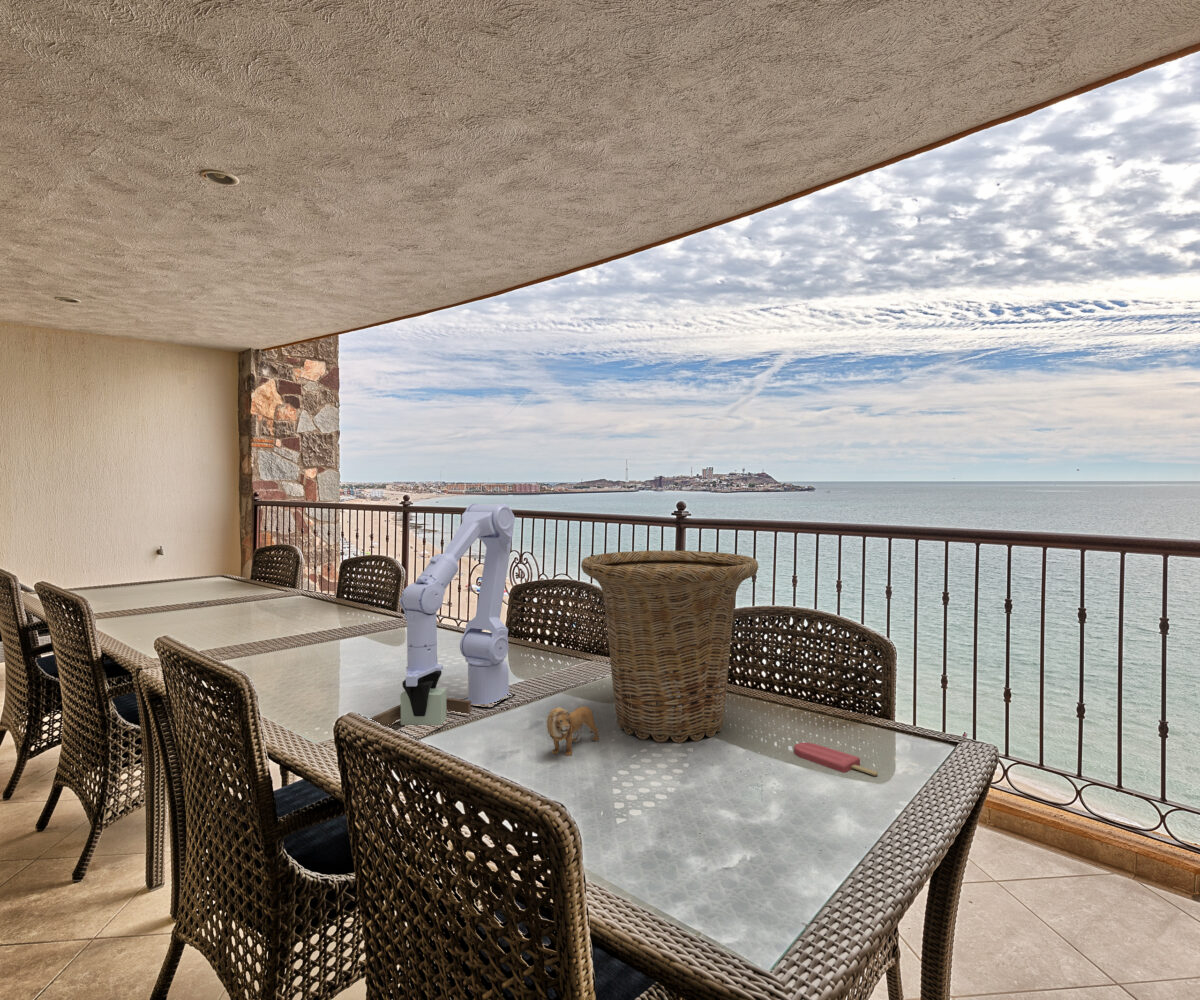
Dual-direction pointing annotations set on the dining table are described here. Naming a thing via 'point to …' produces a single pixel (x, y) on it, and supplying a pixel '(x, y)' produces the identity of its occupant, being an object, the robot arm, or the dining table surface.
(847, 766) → the popsicle
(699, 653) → the wicker basket
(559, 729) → the lion figurine
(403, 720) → the sage block
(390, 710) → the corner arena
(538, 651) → the dining table surface
